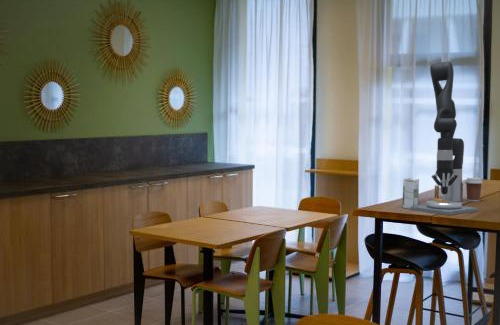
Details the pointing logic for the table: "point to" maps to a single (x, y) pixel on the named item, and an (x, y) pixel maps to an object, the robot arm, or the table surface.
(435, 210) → the base
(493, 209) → the table surface
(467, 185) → the coffee cup
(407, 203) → the syrup box
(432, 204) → the dial
